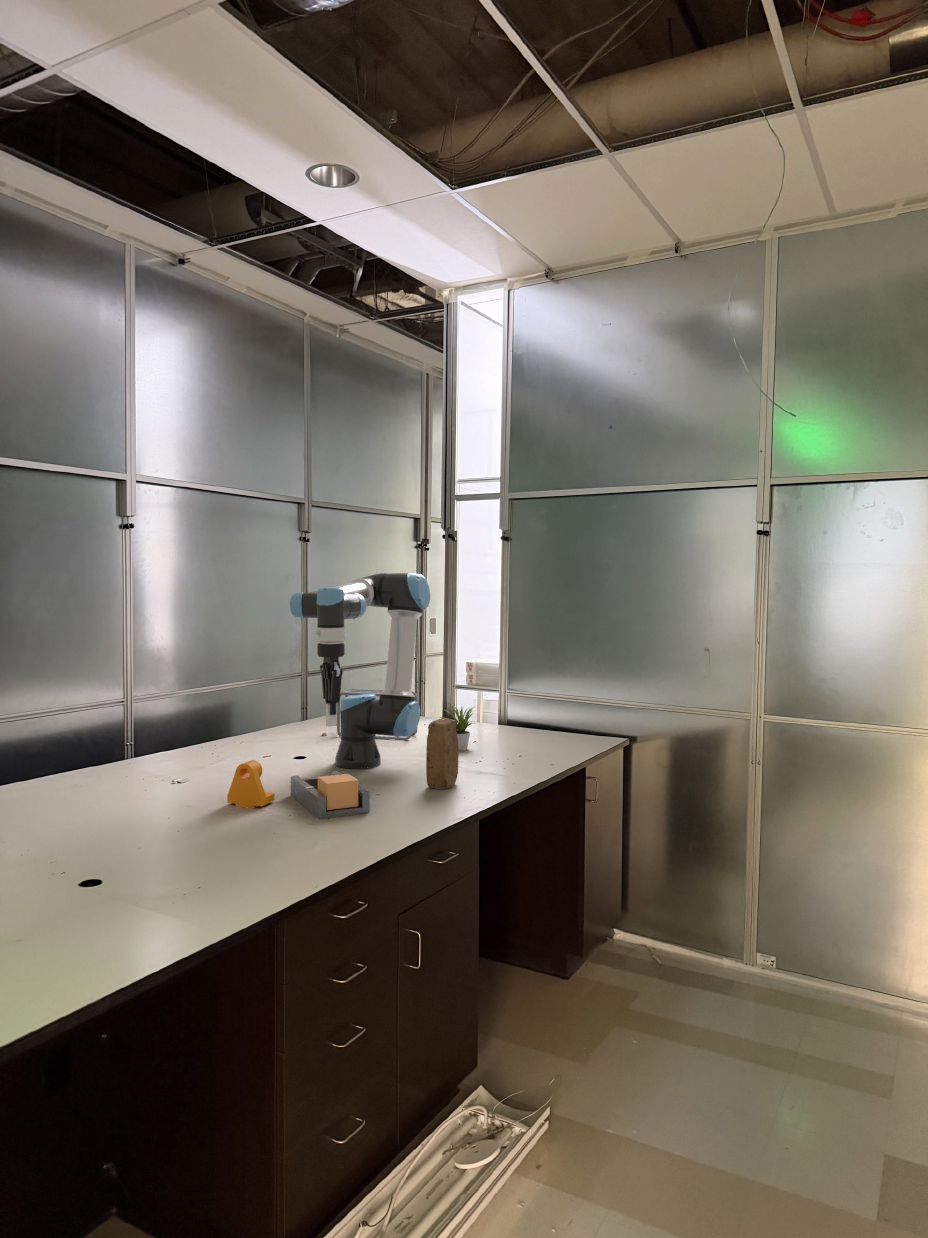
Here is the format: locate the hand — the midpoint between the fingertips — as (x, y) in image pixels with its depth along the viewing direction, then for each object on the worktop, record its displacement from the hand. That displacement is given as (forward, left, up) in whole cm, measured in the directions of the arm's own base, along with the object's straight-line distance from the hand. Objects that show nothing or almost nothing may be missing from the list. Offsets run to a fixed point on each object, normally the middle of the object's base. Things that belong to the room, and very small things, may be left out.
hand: (331, 725), depth 231 cm
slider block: (+13, -3, -19) cm, 23 cm away
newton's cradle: (-79, +45, -21) cm, 93 cm away
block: (+1, +34, -21) cm, 40 cm away
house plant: (-45, +64, -21) cm, 81 cm away
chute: (+5, -3, -21) cm, 21 cm away
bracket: (-4, -22, -21) cm, 30 cm away
